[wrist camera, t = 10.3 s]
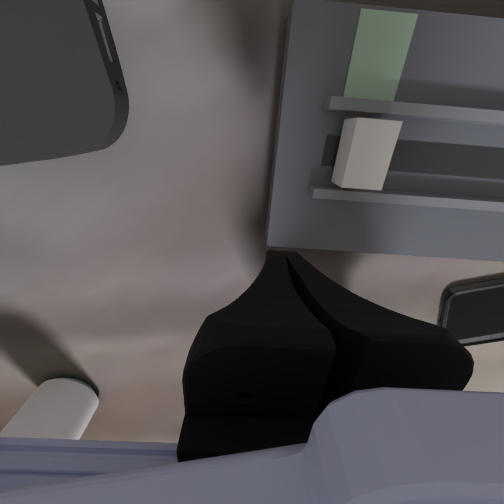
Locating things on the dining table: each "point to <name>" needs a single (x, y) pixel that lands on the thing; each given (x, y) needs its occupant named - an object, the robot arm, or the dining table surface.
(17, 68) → the media streaming box
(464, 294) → the phone
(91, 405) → the can
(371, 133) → the block
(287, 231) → the panel
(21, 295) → the dining table surface
